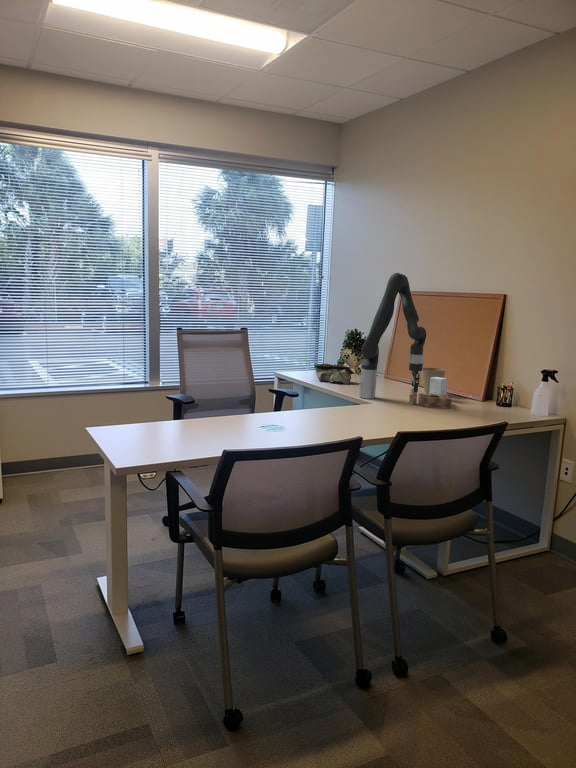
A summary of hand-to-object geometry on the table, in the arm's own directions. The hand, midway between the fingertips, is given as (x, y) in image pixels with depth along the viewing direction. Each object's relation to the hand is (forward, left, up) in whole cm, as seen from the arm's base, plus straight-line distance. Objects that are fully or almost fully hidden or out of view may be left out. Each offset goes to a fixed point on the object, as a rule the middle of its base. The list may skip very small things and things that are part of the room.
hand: (414, 390), depth 327 cm
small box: (+16, +18, -8) cm, 26 cm away
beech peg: (-1, 0, -8) cm, 8 cm away
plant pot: (+15, +35, -8) cm, 39 cm away
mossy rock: (-47, +64, -8) cm, 79 cm away
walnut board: (+11, 0, -8) cm, 14 cm away
